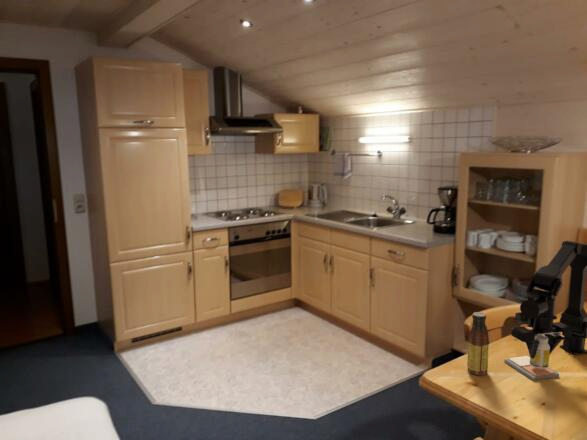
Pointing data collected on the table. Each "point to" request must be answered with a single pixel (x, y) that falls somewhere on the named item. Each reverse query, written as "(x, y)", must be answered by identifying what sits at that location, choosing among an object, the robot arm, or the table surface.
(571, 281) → the robot arm
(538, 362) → the supplement bottle
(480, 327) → the sauce bottle
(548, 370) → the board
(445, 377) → the table surface
